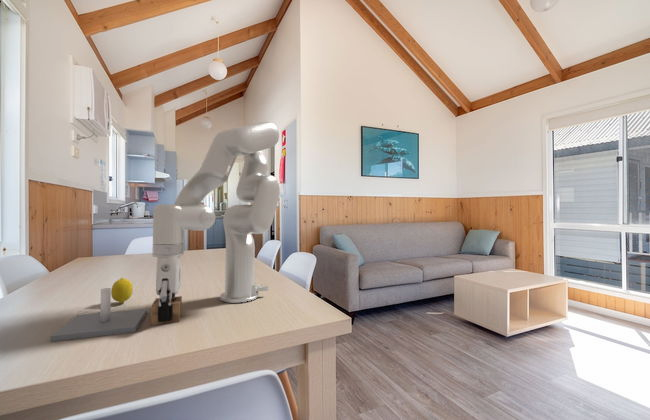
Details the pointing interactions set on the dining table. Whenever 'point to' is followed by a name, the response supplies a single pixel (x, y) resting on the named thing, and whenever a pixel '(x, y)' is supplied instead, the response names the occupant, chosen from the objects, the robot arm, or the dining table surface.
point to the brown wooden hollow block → (176, 310)
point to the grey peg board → (101, 322)
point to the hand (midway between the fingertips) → (167, 315)
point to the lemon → (122, 290)
